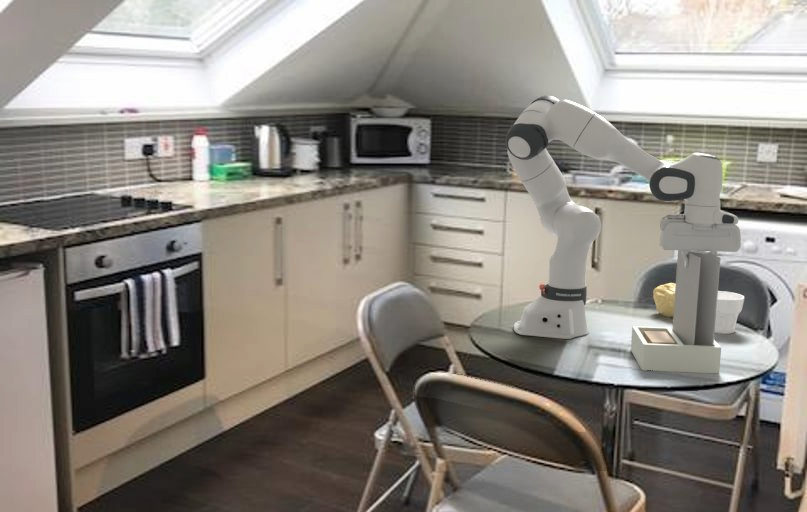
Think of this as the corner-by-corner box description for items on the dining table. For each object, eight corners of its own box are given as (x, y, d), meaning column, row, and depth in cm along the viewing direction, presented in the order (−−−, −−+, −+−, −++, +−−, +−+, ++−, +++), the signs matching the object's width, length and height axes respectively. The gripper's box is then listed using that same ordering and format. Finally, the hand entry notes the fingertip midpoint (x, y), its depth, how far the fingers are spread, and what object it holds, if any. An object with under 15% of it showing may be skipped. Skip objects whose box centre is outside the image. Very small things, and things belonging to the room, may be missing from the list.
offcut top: (651, 354, 229) (652, 342, 228) (642, 343, 240) (643, 331, 239) (674, 355, 229) (675, 342, 228) (664, 343, 240) (665, 331, 239)
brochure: (711, 370, 227) (720, 257, 222) (691, 370, 227) (699, 257, 221) (689, 354, 241) (698, 248, 236) (670, 354, 241) (678, 248, 235)
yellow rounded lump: (646, 312, 288) (648, 280, 286) (678, 310, 291) (680, 278, 289) (665, 320, 277) (667, 287, 275) (698, 318, 280) (700, 286, 278)
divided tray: (642, 370, 226) (643, 344, 225) (630, 350, 244) (632, 326, 243) (719, 373, 224) (721, 347, 223) (702, 352, 242) (704, 328, 241)
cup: (703, 322, 275) (706, 288, 273) (744, 328, 269) (747, 293, 267) (694, 331, 264) (697, 296, 262) (737, 337, 258) (740, 301, 256)
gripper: (663, 216, 225) (659, 268, 227) (744, 218, 223) (740, 270, 225) (658, 212, 231) (655, 263, 233) (737, 214, 229) (733, 266, 231)
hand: (697, 267), depth 229 cm, fingers closed on brochure, 4 cm apart
